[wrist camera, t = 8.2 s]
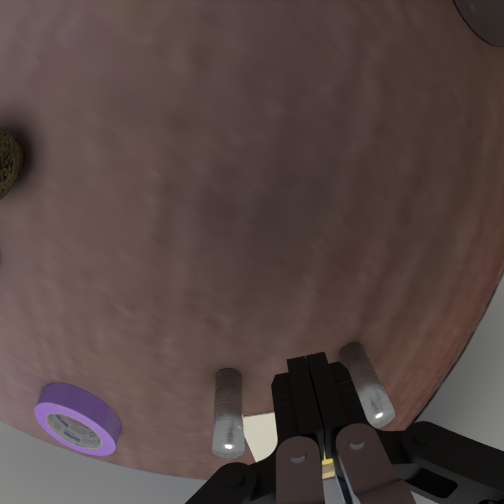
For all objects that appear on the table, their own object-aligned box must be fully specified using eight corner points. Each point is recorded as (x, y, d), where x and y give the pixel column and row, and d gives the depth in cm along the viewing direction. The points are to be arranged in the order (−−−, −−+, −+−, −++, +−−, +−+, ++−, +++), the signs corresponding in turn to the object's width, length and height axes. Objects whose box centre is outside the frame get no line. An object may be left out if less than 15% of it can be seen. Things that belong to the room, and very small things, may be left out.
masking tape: (138, 433, 34) (133, 456, 30) (80, 437, 35) (73, 456, 31) (84, 376, 29) (73, 399, 26) (29, 385, 30) (18, 404, 27)
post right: (363, 339, 28) (397, 405, 20) (362, 358, 29) (393, 422, 21) (338, 346, 29) (367, 415, 20) (339, 364, 30) (365, 431, 21)
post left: (238, 366, 29) (240, 441, 21) (244, 383, 30) (247, 456, 22) (212, 370, 29) (208, 444, 21) (219, 387, 30) (217, 459, 22)
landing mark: (355, 393, 32) (356, 394, 32) (351, 447, 37) (351, 448, 37) (237, 417, 32) (237, 418, 32) (258, 466, 37) (258, 467, 37)
